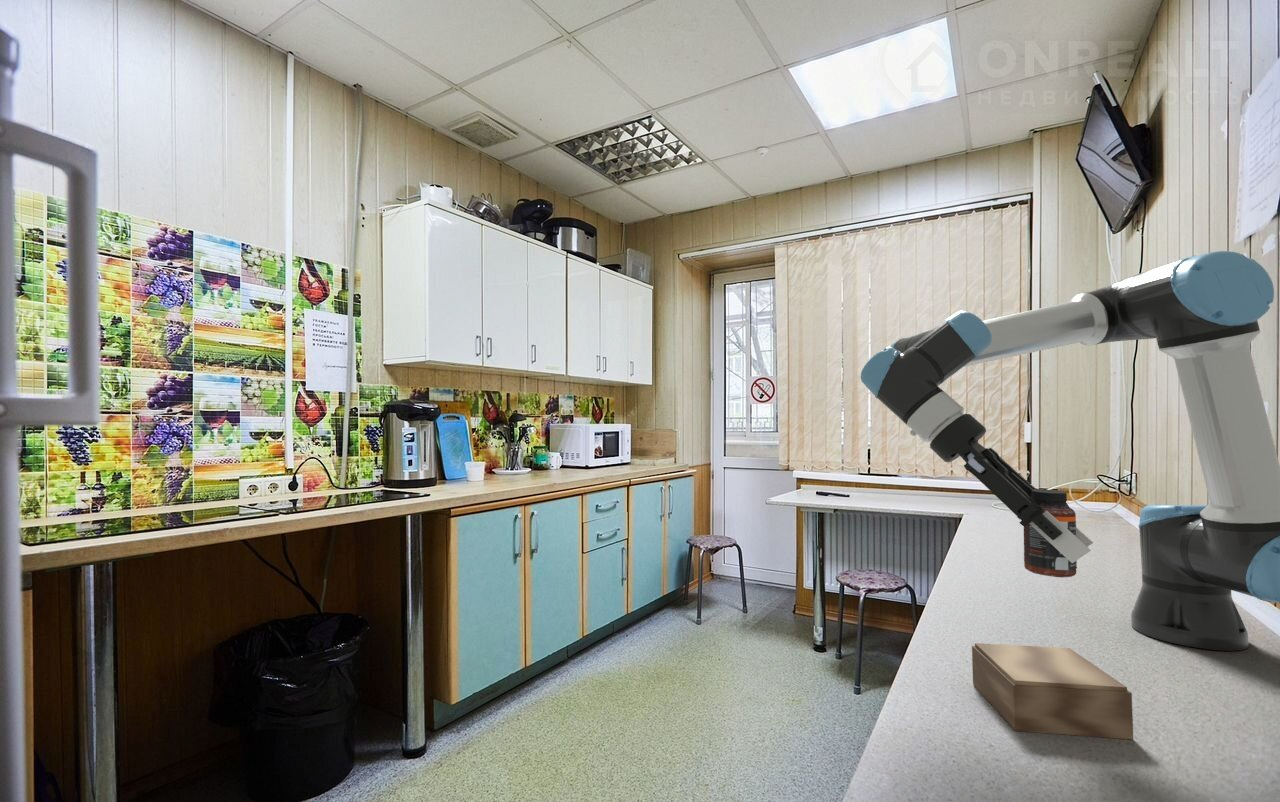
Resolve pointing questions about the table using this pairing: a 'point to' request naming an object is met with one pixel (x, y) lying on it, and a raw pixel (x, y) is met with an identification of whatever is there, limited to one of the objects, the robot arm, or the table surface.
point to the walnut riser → (1052, 691)
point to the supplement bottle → (1040, 551)
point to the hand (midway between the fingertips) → (1082, 552)
